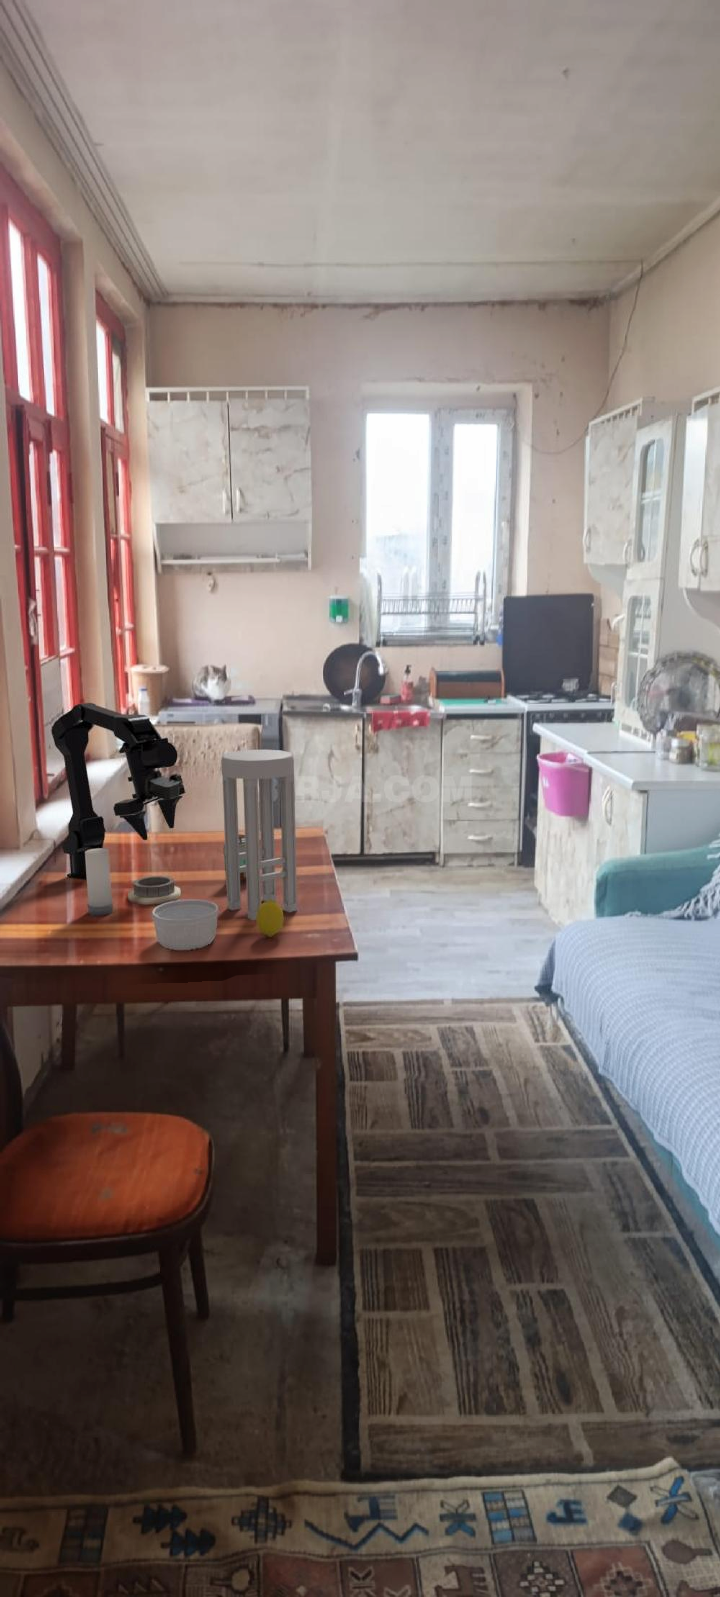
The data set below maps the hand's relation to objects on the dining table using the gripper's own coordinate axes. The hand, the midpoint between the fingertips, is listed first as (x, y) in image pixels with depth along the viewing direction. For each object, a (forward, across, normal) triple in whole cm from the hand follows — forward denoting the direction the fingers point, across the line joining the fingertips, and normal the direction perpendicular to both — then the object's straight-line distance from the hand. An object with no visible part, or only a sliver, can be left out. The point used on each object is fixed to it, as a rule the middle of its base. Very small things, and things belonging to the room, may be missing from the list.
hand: (158, 833), depth 232 cm
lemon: (+20, -15, -38) cm, 46 cm away
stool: (+19, -1, -26) cm, 32 cm away
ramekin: (+17, -25, -25) cm, 39 cm away
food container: (+18, +17, -8) cm, 25 cm away
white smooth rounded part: (+12, -20, +4) cm, 23 cm away
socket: (+14, -5, +1) cm, 15 cm away
